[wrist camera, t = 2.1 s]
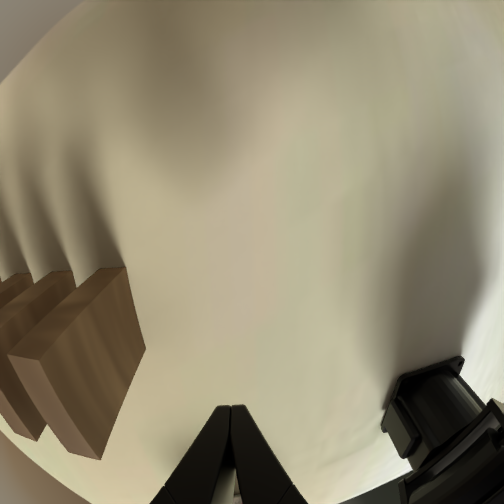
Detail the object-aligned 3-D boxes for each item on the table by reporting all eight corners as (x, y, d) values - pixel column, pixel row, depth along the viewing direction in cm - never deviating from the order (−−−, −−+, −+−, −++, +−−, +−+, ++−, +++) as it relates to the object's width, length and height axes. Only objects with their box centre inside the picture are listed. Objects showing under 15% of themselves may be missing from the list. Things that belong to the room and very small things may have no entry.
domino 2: (72, 270, 13) (-22, 347, 6) (95, 346, 15) (37, 441, 7) (51, 271, 13) (-40, 342, 6) (75, 345, 15) (14, 432, 7)
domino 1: (125, 267, 14) (38, 360, 6) (146, 348, 15) (100, 460, 7) (99, 268, 13) (6, 354, 6) (121, 348, 15) (68, 452, 7)
